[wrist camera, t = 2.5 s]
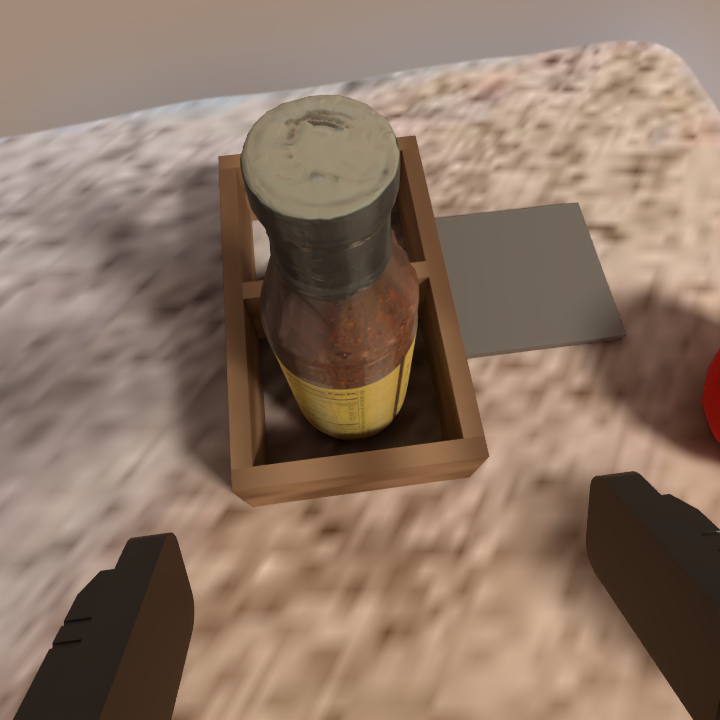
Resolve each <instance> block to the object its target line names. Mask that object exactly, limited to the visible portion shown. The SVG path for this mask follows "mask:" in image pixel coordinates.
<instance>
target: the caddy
mask: <svg viewBox="0 0 720 720" xmlns="http://www.w3.org/2000/svg"><path fill="white" fill-rule="evenodd" d="M397 140H398V146H399V151H400V181H399V190H398V193H397V197H396V201H395V204H397V206H398V211H399V216H400V221H401V226H402V231H403V236H404V241H405V246H406V251H407V256H408V259H409V262H410V264H411V265H412V266H413V267H414V268H415V270H416V273H417V278H418V285H419V303H418V310H417V315H418V320H420V322H421V327H422V332H423V337H424V342H425V347H426V352H427V357H428V362H429V367H430V372H431V377H432V382H433V387H434V392H435V397H436V402H437V407H438V412H439V417H440V422H441V427H442V432H443V437H444V441H442V442H434V443H427V444H419V445H412V446H404V447H397V448H389V449H382V450H374V451H367V452H359V453H352V454H344V455H337V456H329V457H322V458H314V459H307V460H299V461H292V462H284V463H277V464H269V465H268V453H267V438H266V423H265V409H264V394H263V379H262V364H261V349H260V339H265V338H267V336H266V334H265V331H264V328H263V324H262V319H261V313H260V293H261V289H262V284H263V281H264V280H261V281H256V275H255V260H254V245H253V230H252V220H258V218H257V217H256V215H255V214H254V213H253V211H252V209H251V207H250V203H249V200H248V196H247V192H246V190H245V185H244V180H243V177H242V173H241V167H240V156H241V154H237V155H228V156H218V157H219V182H220V207H221V232H222V257H223V282H224V307H225V332H226V358H227V383H228V408H229V433H230V458H231V483H232V492H233V493H235V494H236V495H237V496H239V497H240V498H241V499H243V500H244V501H245V502H247V503H248V504H249V505H251V506H252V507H254V506H262V505H269V504H276V503H284V502H291V501H298V500H306V499H313V498H320V497H327V496H335V495H342V494H349V493H357V492H364V491H371V490H379V489H386V488H393V487H401V486H408V485H415V484H422V483H430V482H437V481H444V480H452V479H459V478H466V477H470V476H471V475H472V474H473V473H474V472H475V471H476V470H477V469H478V468H479V467H480V466H481V465H482V464H483V463H484V461H485V460H486V459H487V458H488V457H489V453H488V449H487V445H486V440H485V436H484V432H483V427H482V423H481V418H480V414H479V410H478V405H477V401H476V397H475V392H474V388H473V384H472V379H471V375H470V371H469V366H468V362H467V358H466V353H465V349H464V345H463V340H462V336H461V332H460V327H459V323H458V319H457V314H456V310H455V306H454V301H453V297H452V293H451V288H450V284H449V279H448V275H447V271H446V266H445V262H444V258H443V253H442V249H441V245H440V240H439V236H438V232H437V227H436V223H435V219H434V214H433V210H432V206H431V201H430V197H429V193H428V188H427V184H426V180H425V175H424V171H423V167H422V162H421V158H420V154H419V149H418V145H417V140H416V136H407V137H397ZM395 204H394V205H395Z"/></svg>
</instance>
